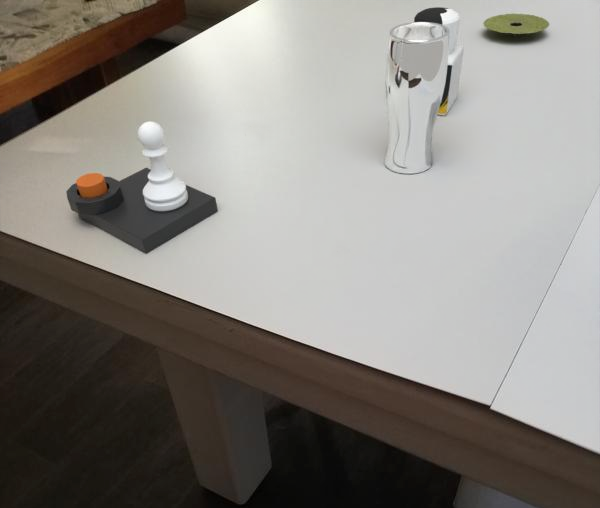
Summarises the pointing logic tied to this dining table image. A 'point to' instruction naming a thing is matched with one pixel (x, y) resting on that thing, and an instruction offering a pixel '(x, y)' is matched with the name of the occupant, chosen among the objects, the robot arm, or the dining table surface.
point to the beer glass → (414, 92)
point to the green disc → (516, 23)
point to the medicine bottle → (454, 54)
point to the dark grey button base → (139, 212)
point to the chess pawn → (160, 172)
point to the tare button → (91, 185)
